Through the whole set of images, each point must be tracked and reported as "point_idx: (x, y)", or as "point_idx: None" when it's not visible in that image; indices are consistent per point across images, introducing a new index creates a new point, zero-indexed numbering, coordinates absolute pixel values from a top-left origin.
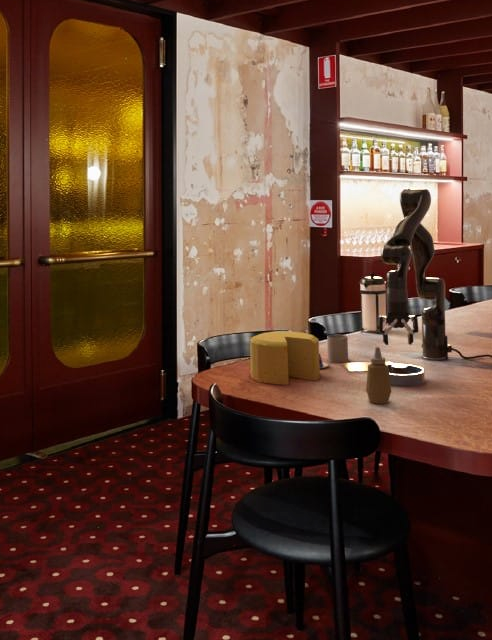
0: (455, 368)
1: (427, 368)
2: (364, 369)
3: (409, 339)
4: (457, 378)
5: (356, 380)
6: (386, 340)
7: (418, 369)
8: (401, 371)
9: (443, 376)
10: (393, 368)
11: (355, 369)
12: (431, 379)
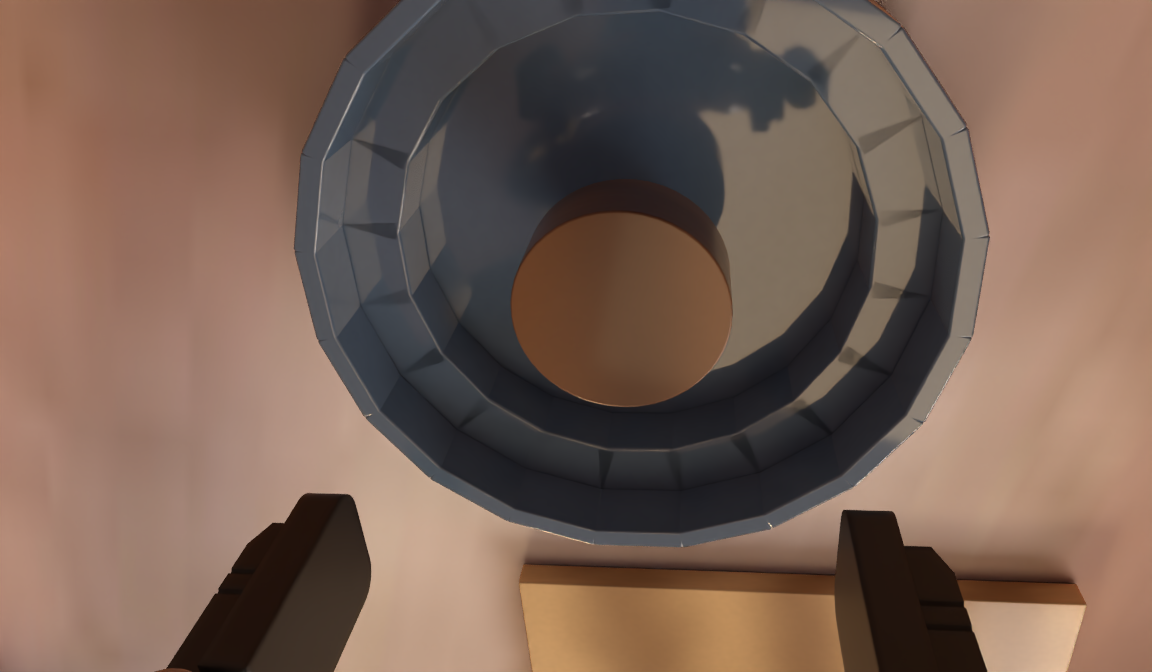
0: (58, 619)
1: None
2: None
3: (309, 586)
4: (20, 318)
5: (1144, 327)
6: (908, 583)
7: (366, 356)
8: (619, 190)
9: (152, 399)
10: (721, 262)
11: (994, 649)
12: (272, 301)
